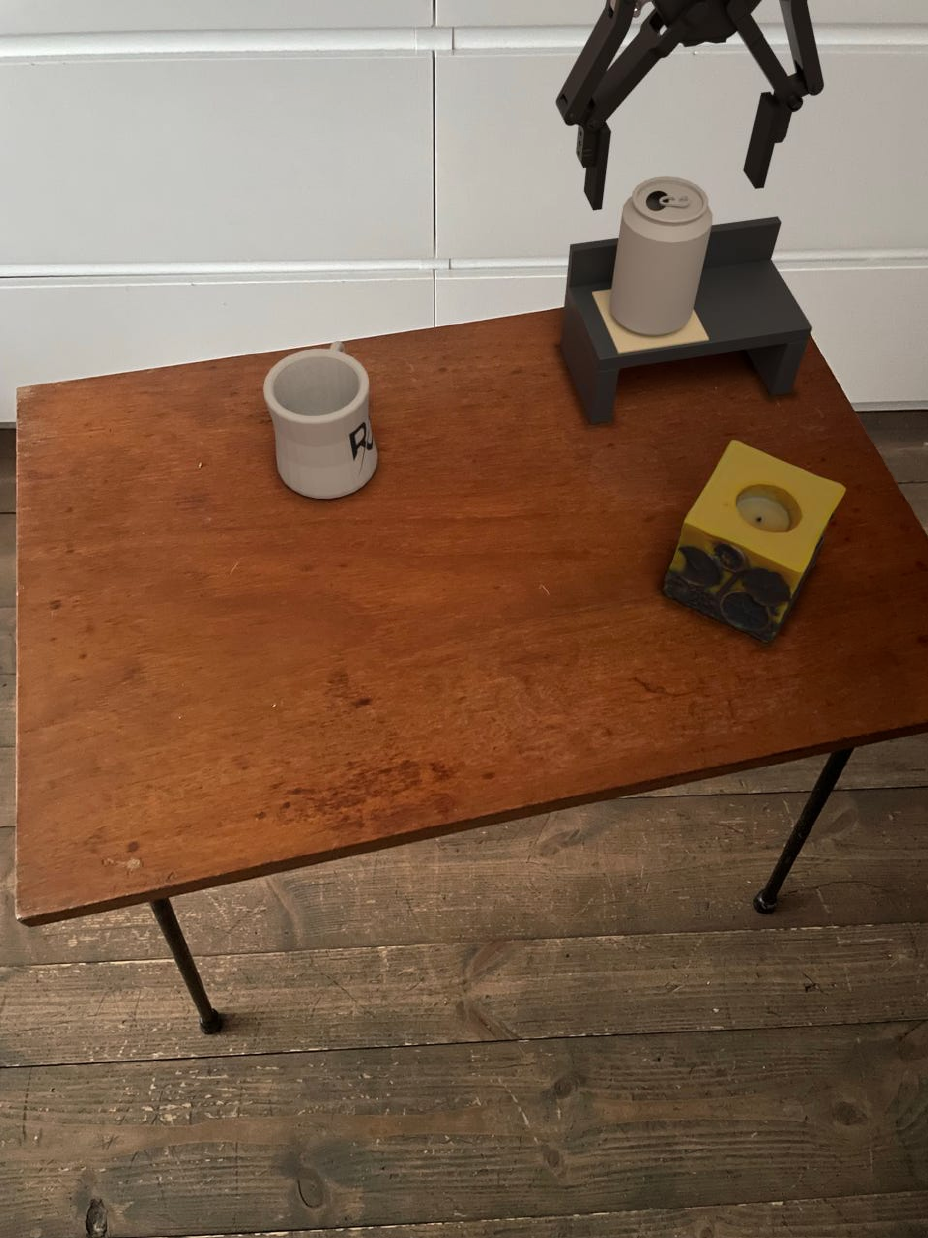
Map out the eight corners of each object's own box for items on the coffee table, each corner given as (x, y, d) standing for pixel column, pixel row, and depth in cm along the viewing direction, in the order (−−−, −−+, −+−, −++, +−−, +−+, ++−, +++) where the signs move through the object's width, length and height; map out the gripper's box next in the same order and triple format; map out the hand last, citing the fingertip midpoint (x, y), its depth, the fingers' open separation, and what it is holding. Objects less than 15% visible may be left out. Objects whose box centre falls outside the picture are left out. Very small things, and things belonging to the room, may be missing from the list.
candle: (706, 515, 93) (730, 434, 85) (816, 562, 90) (851, 483, 82) (657, 595, 88) (677, 518, 80) (771, 648, 85) (804, 573, 77)
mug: (365, 510, 94) (356, 429, 85) (266, 496, 95) (247, 414, 86) (395, 412, 101) (389, 328, 92) (302, 400, 101) (288, 316, 93)
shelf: (749, 319, 108) (777, 215, 98) (790, 393, 102) (825, 290, 92) (559, 347, 106) (570, 243, 96) (590, 424, 100) (604, 322, 90)
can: (618, 280, 99) (635, 162, 89) (697, 297, 98) (724, 178, 88) (599, 332, 95) (615, 213, 85) (682, 349, 93) (708, 231, 84)
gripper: (881, -150, 72) (800, 145, 89) (524, -117, 69) (512, 182, 86) (932, -104, 68) (837, 196, 85) (554, -66, 65) (535, 237, 82)
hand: (673, 189), depth 86 cm, fingers open, 13 cm apart
